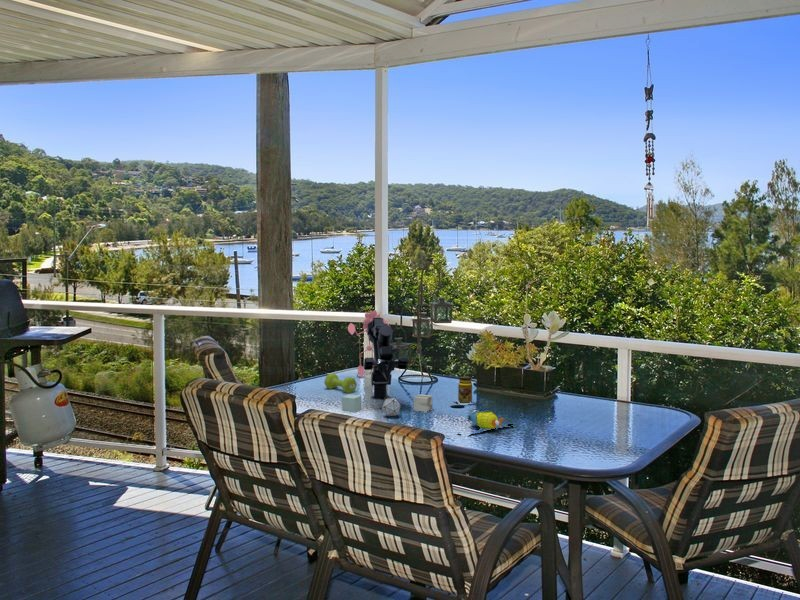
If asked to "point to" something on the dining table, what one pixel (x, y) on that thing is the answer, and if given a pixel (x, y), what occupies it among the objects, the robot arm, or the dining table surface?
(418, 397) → the birch block
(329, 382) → the dumbbell
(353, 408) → the sage block
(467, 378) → the condiment
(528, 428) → the dining table surface
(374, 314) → the pink tall part
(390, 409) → the game die
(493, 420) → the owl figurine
